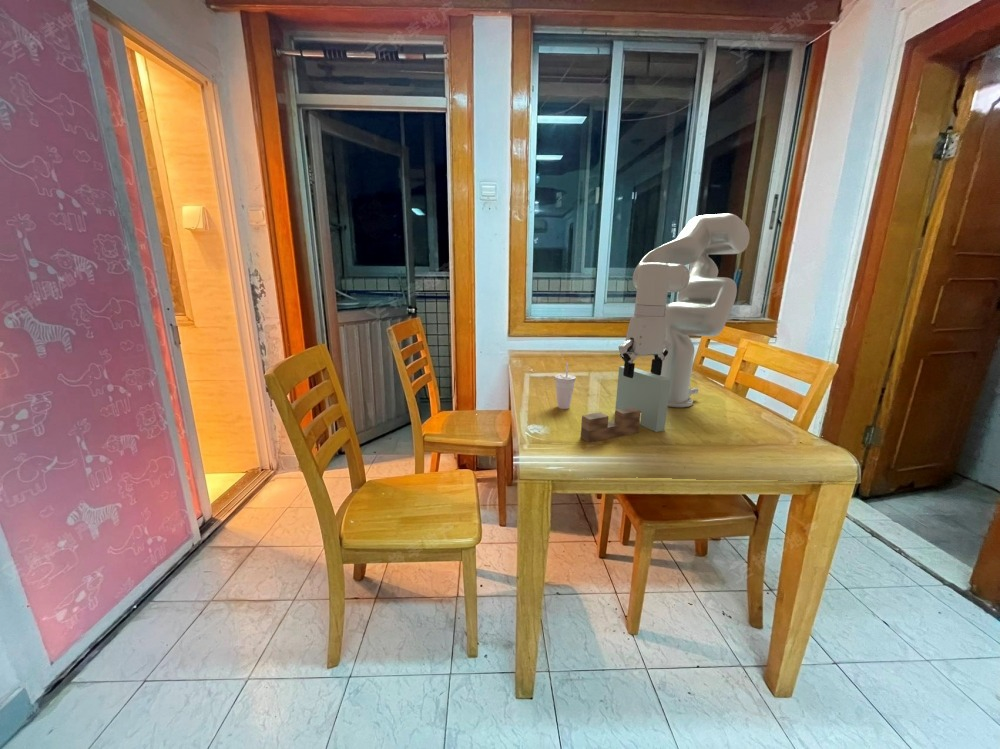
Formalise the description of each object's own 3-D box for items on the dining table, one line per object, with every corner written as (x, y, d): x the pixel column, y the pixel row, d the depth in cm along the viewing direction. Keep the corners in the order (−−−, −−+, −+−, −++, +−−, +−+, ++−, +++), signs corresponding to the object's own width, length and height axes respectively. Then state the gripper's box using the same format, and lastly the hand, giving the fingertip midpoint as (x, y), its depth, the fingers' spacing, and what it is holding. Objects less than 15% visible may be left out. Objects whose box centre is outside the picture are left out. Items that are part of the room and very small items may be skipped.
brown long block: (630, 428, 107) (632, 407, 106) (638, 432, 105) (640, 410, 103) (580, 437, 101) (582, 415, 99) (587, 442, 98) (589, 419, 97)
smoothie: (563, 411, 119) (566, 366, 115) (548, 406, 124) (550, 361, 120) (578, 407, 123) (581, 363, 119) (563, 402, 128) (566, 359, 124)
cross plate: (615, 412, 119) (619, 366, 116) (623, 411, 120) (627, 365, 117) (655, 431, 105) (661, 380, 102) (664, 430, 106) (670, 379, 103)
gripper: (663, 310, 112) (655, 370, 116) (613, 310, 105) (607, 374, 109) (685, 313, 105) (676, 376, 109) (634, 313, 98) (626, 381, 102)
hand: (642, 375), depth 109 cm, fingers open, 9 cm apart
